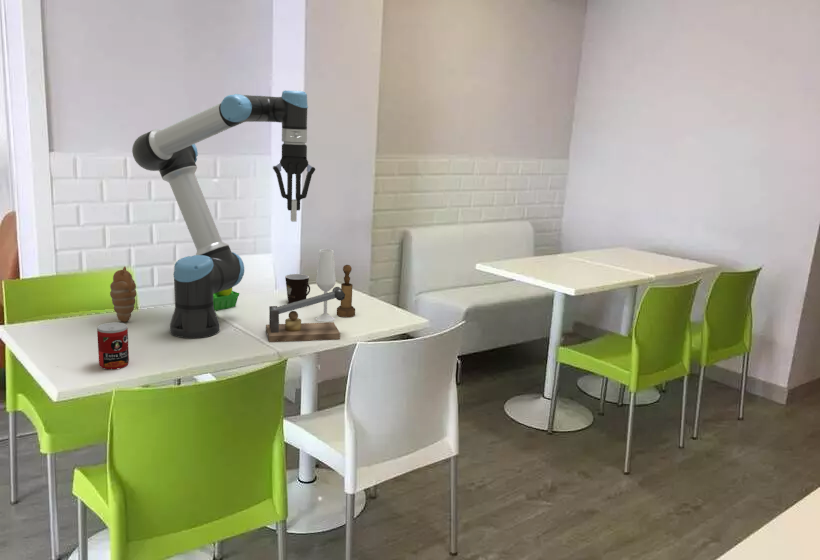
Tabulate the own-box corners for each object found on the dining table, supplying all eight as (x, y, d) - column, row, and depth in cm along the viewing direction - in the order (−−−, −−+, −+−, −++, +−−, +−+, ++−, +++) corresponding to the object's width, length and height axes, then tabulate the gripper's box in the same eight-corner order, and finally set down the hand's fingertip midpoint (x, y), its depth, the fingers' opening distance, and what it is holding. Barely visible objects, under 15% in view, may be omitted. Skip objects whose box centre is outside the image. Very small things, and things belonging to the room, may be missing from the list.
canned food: (103, 371, 194) (101, 332, 191) (95, 362, 200) (93, 324, 197) (132, 367, 198) (131, 328, 196) (124, 358, 204) (123, 320, 202)
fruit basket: (227, 302, 266) (227, 272, 263) (242, 307, 260) (242, 276, 258) (200, 307, 257) (200, 276, 255) (215, 313, 252) (215, 281, 249)
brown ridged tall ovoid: (134, 325, 234) (132, 271, 229) (108, 325, 232) (106, 270, 228) (140, 318, 242) (138, 265, 238) (115, 317, 241) (112, 264, 237)
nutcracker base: (269, 342, 224) (269, 314, 222) (265, 330, 235) (266, 303, 233) (340, 339, 230) (340, 311, 228) (333, 328, 241) (334, 301, 239)
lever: (272, 319, 226) (269, 310, 225) (270, 314, 231) (268, 305, 230) (345, 299, 230) (343, 290, 230) (342, 294, 236) (340, 285, 235)
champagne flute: (336, 321, 249) (338, 252, 244) (317, 322, 247) (318, 252, 241) (332, 315, 255) (334, 248, 250) (313, 316, 253) (314, 248, 248)
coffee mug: (283, 300, 272) (283, 274, 270) (306, 299, 275) (306, 273, 272) (288, 308, 261) (288, 281, 259) (311, 307, 264) (312, 281, 262)
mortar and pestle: (354, 318, 254) (355, 267, 250) (335, 317, 254) (336, 266, 250) (355, 312, 260) (357, 263, 256) (337, 311, 260) (339, 262, 256)
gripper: (273, 143, 215) (273, 222, 220) (317, 144, 218) (316, 222, 223) (271, 142, 222) (271, 218, 227) (314, 143, 225) (312, 219, 230)
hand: (293, 220), depth 225 cm, fingers closed
